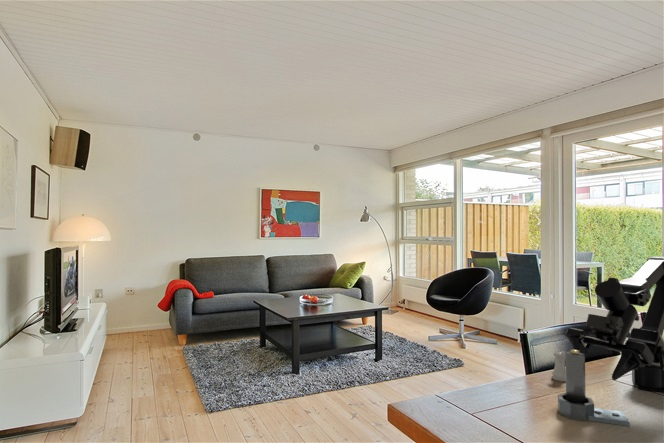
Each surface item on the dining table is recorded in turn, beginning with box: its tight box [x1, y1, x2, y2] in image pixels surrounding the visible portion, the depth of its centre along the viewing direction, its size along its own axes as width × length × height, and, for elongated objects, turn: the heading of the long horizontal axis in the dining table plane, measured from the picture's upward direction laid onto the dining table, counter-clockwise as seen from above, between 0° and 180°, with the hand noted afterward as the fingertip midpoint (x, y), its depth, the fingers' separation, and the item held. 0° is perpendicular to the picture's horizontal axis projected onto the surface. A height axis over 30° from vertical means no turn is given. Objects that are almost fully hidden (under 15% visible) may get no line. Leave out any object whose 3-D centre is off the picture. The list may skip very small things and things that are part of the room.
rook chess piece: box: [551, 350, 566, 383], centre depth 123 cm, size 4×4×8 cm
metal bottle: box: [564, 349, 587, 404], centre depth 99 cm, size 4×4×14 cm
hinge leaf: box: [557, 392, 630, 427], centre depth 98 cm, size 14×7×4 cm, turn 68°
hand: (593, 373), depth 103 cm, fingers open, 9 cm apart
